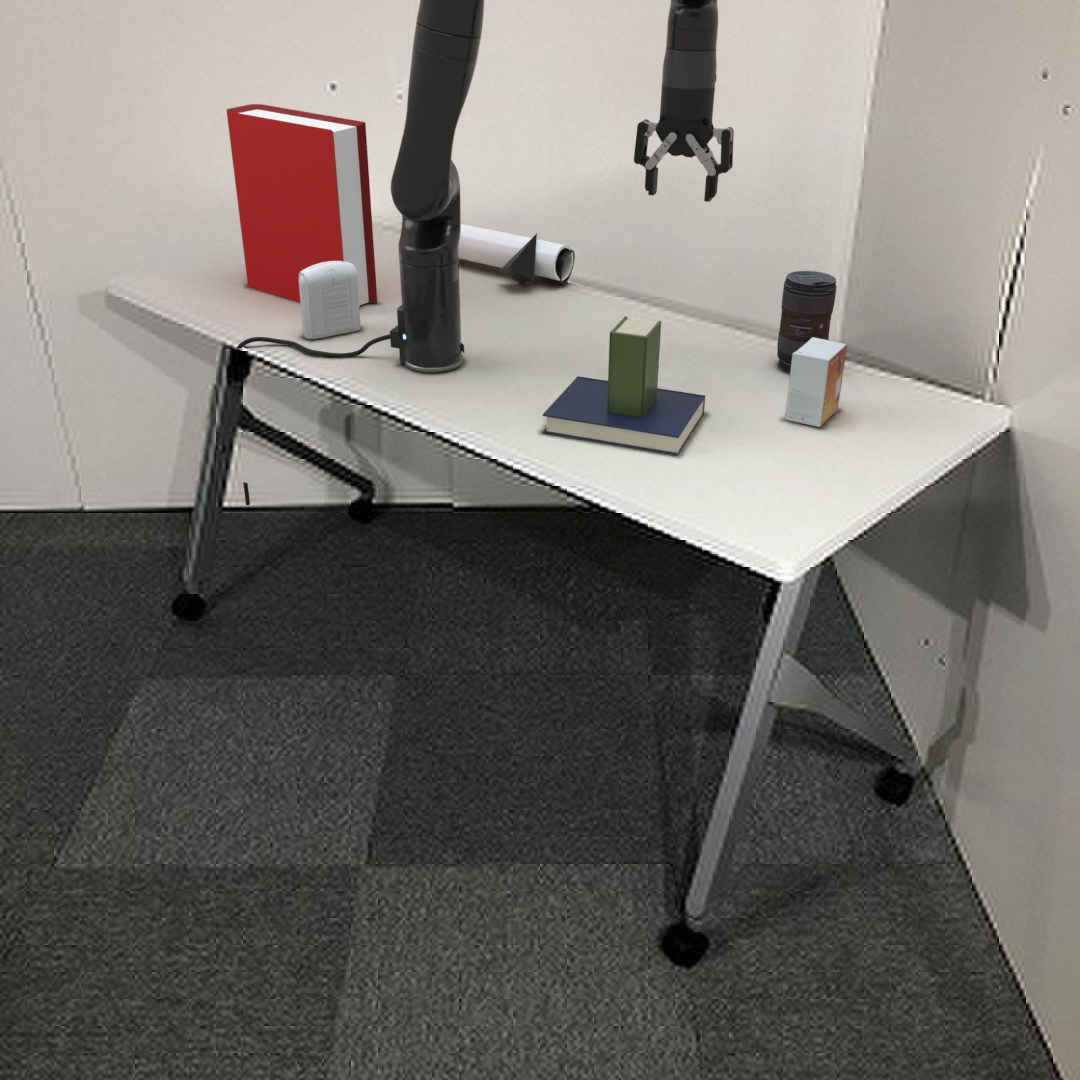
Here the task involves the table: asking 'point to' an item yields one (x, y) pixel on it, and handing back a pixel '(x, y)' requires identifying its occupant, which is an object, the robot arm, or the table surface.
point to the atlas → (624, 418)
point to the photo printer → (329, 299)
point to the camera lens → (804, 312)
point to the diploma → (517, 254)
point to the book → (301, 196)
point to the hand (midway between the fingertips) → (680, 197)
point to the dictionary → (633, 367)
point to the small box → (815, 381)
